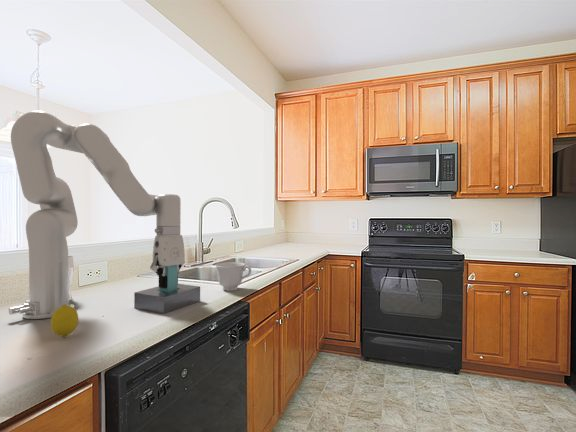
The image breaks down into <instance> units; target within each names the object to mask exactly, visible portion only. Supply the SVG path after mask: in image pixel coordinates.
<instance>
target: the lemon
mask: <svg viewBox="0 0 576 432" xmlns="http://www.w3.org/2000/svg"><path fill="white" fill-rule="evenodd" d="M78 323H79V315H78V312H77V310H76V309H75V307H74V308H73V307H71V306H67V305H63V306H62V307H60V308H58V309H57V310H56V311H55V312H54V313H53V315H52V317H51V318H50V328H51V331H52V332H53V333H54V334H55V335H57V336H61V337H62V338H66V337H68V336H69V334H71V333H73V332H74V331H75V330H76V328H77V327H78Z"/></svg>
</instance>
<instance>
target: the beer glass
mask: <svg viewBox="0 0 576 432" xmlns="http://www.w3.org/2000/svg"><path fill="white" fill-rule="evenodd" d="M74 269H75V268H74V256H72V255H68V302H69V301H72V299H73V295H72V291H71V288H72V283H73V278H74Z"/></svg>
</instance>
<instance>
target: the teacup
mask: <svg viewBox="0 0 576 432" xmlns="http://www.w3.org/2000/svg"><path fill="white" fill-rule="evenodd" d="M214 266H215V267H216V272H217V279H218V284H219V285H220V286H221V287H222V290H223V291H225V290H226V291H227V292H228V291H229V292H233V290H234V291H237V290H238V287H239V286H240V285H241V283H242V281H243V279H245V278H248V277H249V276H251V274H252V268H251V266H250V265H246V263H245V262H240V261H227V262H226V261H225V262H219V263H218V262H217V263H216V264H214ZM246 269H248V273H247V274H245V275H243V274H244V272H245V271H246Z"/></svg>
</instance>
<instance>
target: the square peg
mask: <svg viewBox="0 0 576 432" xmlns="http://www.w3.org/2000/svg"><path fill="white" fill-rule="evenodd" d="M162 269H163V268H162ZM162 269H161V270H162ZM165 276H167V288H159V291H164V292H171V291H174V290H177V265H175V266H169V267H167V269H166V275H165Z"/></svg>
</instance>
